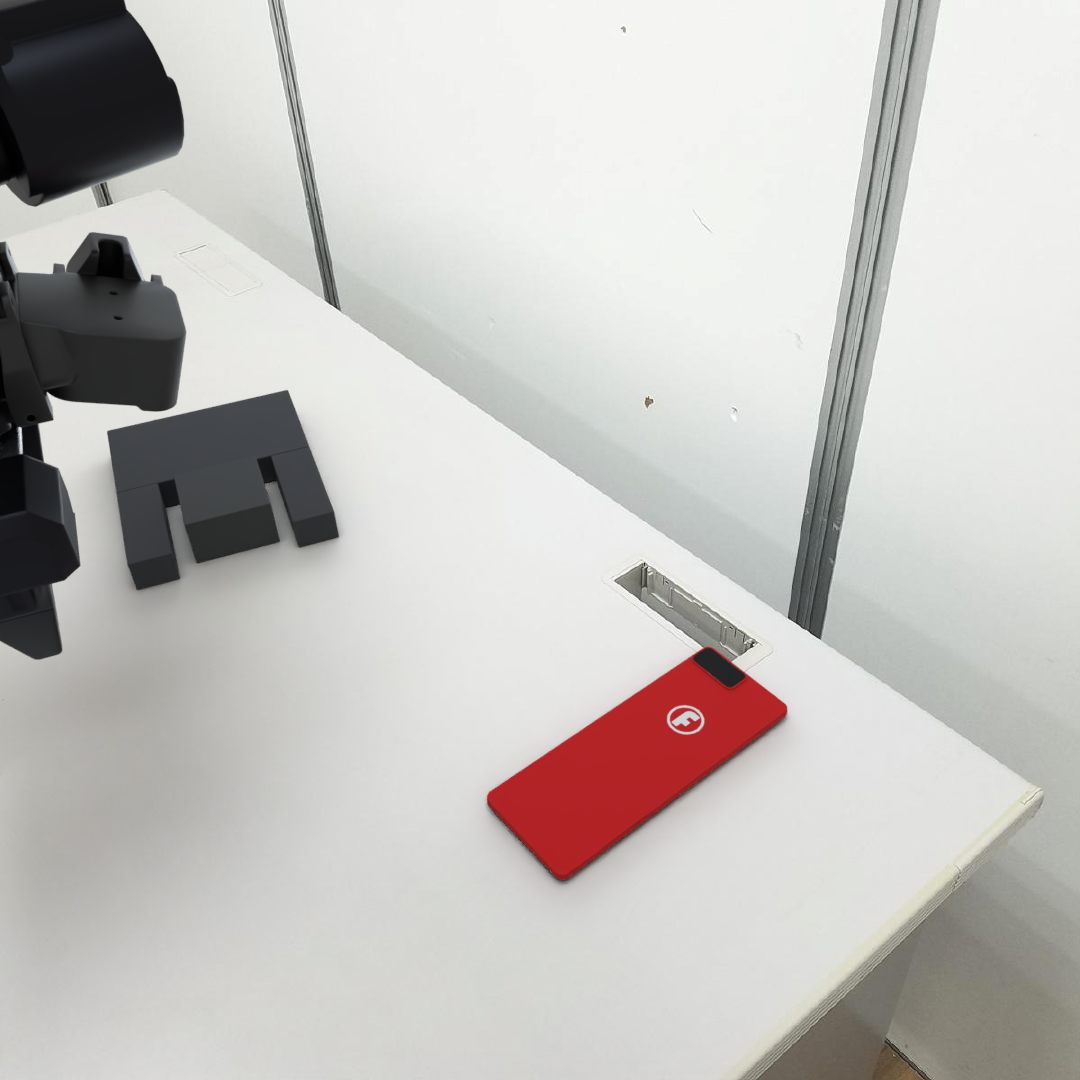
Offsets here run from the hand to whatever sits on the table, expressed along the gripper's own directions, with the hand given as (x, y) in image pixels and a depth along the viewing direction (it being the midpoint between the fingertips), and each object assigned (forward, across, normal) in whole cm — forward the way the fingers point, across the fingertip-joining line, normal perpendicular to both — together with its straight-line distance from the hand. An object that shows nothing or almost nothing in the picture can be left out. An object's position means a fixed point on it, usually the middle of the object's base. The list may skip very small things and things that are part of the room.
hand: (44, 581), depth 49 cm
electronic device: (+12, -10, -24) cm, 29 cm away
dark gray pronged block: (+12, +19, -8) cm, 24 cm away
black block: (+12, +16, -8) cm, 21 cm away
